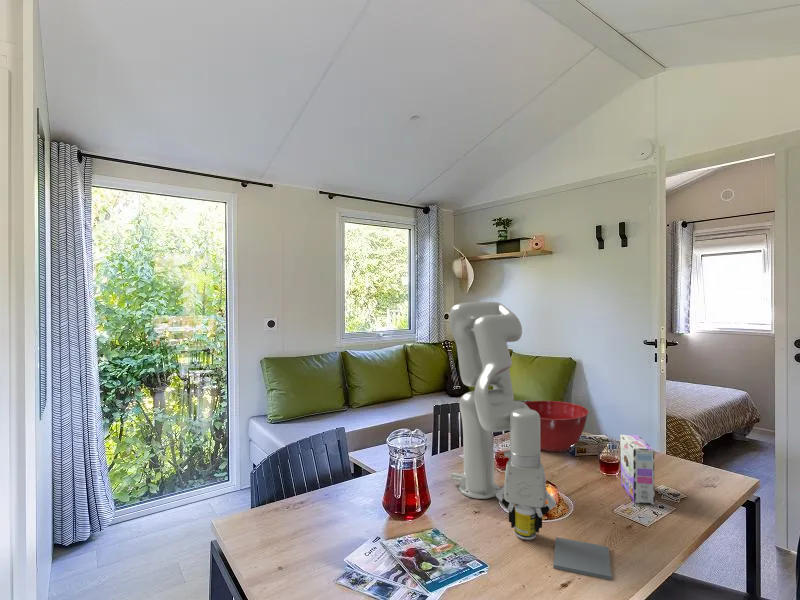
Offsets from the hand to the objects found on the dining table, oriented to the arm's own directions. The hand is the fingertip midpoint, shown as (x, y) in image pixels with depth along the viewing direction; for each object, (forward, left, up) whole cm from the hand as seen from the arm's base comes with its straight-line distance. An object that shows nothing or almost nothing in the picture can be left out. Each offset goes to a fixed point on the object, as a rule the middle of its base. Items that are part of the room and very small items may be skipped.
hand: (525, 526), depth 112 cm
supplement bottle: (0, 0, -2) cm, 2 cm away
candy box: (+29, +36, -3) cm, 46 cm away
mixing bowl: (+2, +71, -3) cm, 71 cm away
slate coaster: (+13, -5, -2) cm, 15 cm away
